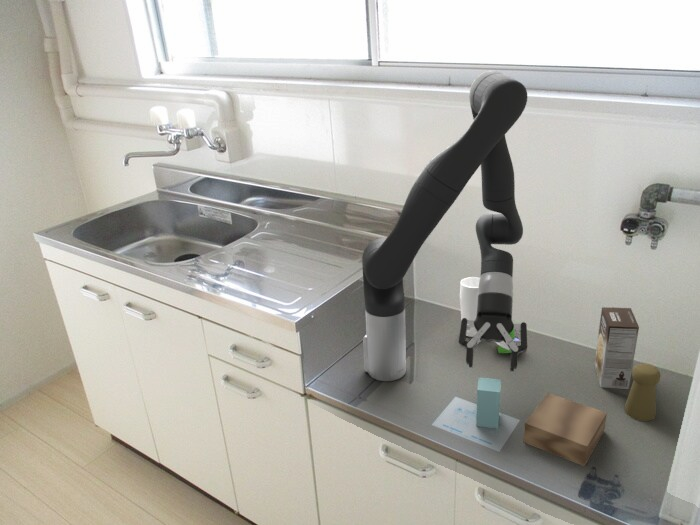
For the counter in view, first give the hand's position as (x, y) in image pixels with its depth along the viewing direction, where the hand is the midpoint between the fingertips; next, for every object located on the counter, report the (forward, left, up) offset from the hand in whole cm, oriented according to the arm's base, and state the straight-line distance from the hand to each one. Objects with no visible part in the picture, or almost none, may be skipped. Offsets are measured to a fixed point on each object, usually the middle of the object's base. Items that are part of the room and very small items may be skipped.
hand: (491, 368), depth 126 cm
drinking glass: (-16, +27, -10) cm, 33 cm away
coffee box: (+20, +24, -10) cm, 33 cm away
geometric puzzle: (-5, +23, -10) cm, 26 cm away
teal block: (+2, -5, -10) cm, 11 cm away
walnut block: (+17, -2, -10) cm, 19 cm away
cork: (+28, +14, -10) cm, 33 cm away
